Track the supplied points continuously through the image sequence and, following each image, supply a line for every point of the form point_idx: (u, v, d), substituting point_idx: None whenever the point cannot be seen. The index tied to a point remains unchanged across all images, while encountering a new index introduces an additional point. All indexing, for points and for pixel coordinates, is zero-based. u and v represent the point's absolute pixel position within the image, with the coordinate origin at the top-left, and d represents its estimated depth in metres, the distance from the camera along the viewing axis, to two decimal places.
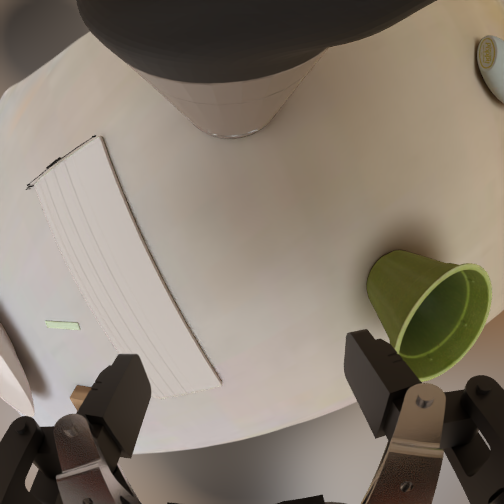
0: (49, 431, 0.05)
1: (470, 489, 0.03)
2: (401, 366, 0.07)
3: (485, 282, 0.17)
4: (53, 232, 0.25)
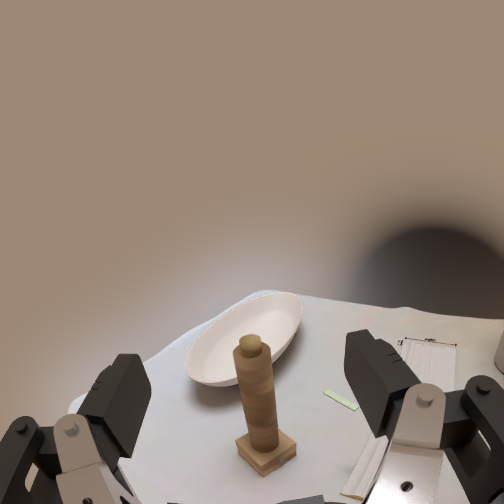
0: (49, 430, 0.05)
1: (470, 489, 0.03)
2: (401, 366, 0.07)
3: None
4: None
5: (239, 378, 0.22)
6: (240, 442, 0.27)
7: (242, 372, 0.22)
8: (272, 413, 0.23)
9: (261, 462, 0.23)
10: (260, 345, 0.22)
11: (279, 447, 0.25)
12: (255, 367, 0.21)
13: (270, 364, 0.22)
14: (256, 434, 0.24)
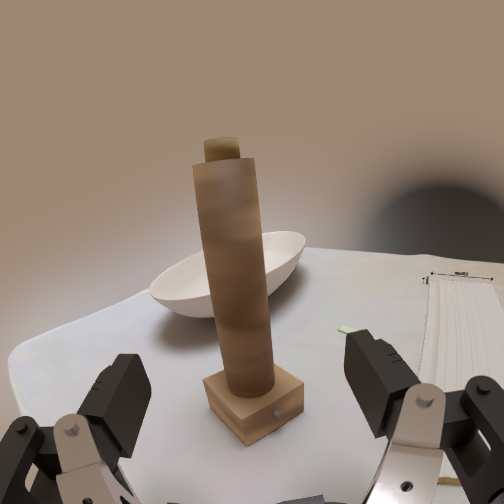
0: (49, 430, 0.05)
1: (470, 489, 0.03)
2: (401, 366, 0.07)
3: None
4: (430, 300, 0.29)
5: (200, 208, 0.14)
6: (210, 382, 0.18)
7: (204, 188, 0.13)
8: (261, 299, 0.15)
9: (242, 413, 0.15)
10: (237, 145, 0.13)
11: (275, 390, 0.16)
12: (227, 171, 0.12)
13: (254, 181, 0.14)
14: (233, 352, 0.15)
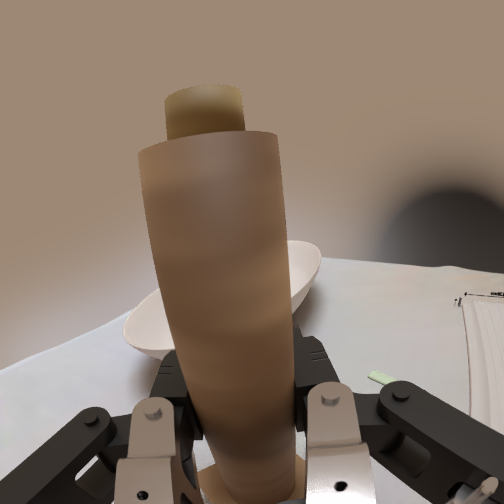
0: (120, 420, 0.06)
1: (420, 488, 0.04)
2: (324, 363, 0.08)
3: None
4: (468, 329, 0.21)
5: (154, 252, 0.06)
6: (203, 480, 0.10)
7: (157, 209, 0.05)
8: (286, 416, 0.07)
9: None
10: (238, 105, 0.05)
11: (296, 496, 0.09)
12: (213, 164, 0.05)
13: (279, 188, 0.06)
14: (235, 476, 0.07)
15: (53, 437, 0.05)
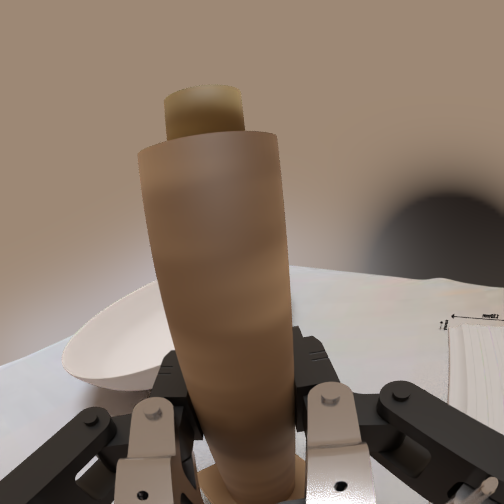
0: (120, 420, 0.06)
1: (421, 489, 0.04)
2: (324, 363, 0.08)
3: None
4: (452, 360, 0.19)
5: (154, 252, 0.06)
6: (203, 480, 0.10)
7: (156, 209, 0.05)
8: (285, 416, 0.07)
9: None
10: (238, 105, 0.05)
11: (296, 496, 0.09)
12: (213, 165, 0.05)
13: (278, 189, 0.06)
14: (235, 476, 0.07)
15: (53, 437, 0.05)
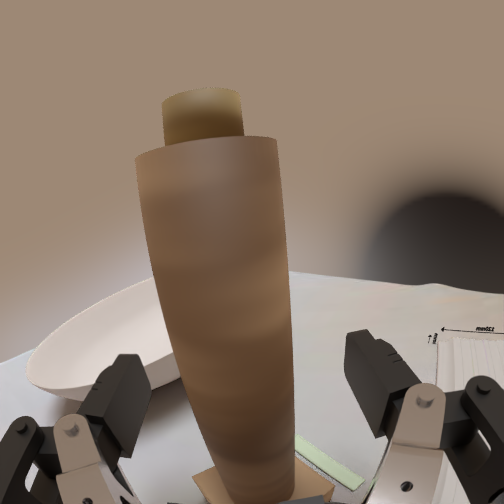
0: (49, 431, 0.05)
1: (470, 489, 0.03)
2: (401, 366, 0.07)
3: None
4: (439, 381, 0.17)
5: (152, 259, 0.06)
6: (203, 482, 0.10)
7: (154, 215, 0.05)
8: (285, 421, 0.07)
9: None
10: (237, 108, 0.05)
11: (295, 498, 0.09)
12: (211, 171, 0.05)
13: (278, 194, 0.06)
14: (235, 480, 0.07)
15: None
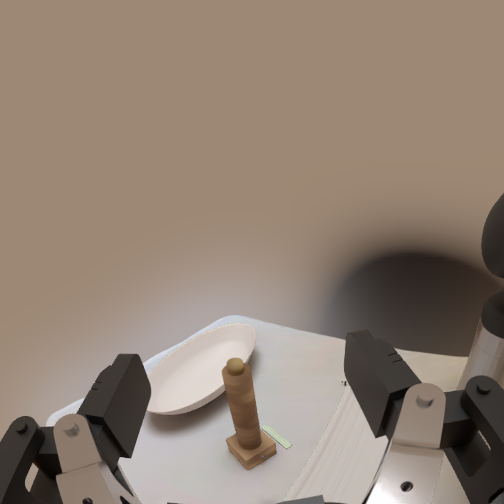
0: (49, 431, 0.05)
1: (470, 489, 0.03)
2: (401, 366, 0.07)
3: None
4: (338, 408, 0.39)
5: (227, 390, 0.28)
6: (230, 441, 0.32)
7: (228, 387, 0.27)
8: (254, 418, 0.29)
9: (246, 457, 0.29)
10: (242, 366, 0.28)
11: (261, 446, 0.31)
12: (238, 383, 0.27)
13: (250, 380, 0.28)
14: (241, 434, 0.30)
15: None
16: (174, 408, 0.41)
